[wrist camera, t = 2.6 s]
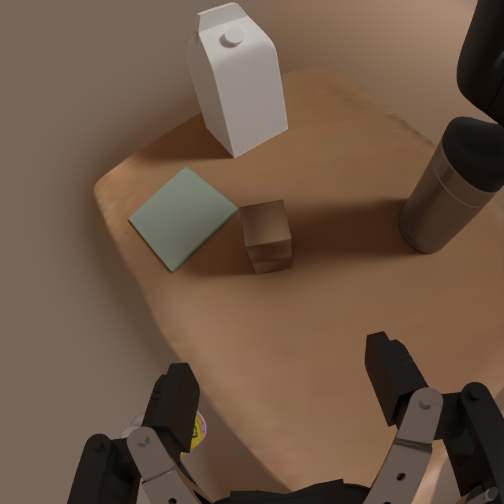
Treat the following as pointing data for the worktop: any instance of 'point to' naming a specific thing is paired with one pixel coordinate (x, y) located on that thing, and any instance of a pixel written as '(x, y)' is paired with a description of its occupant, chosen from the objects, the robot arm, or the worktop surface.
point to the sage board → (181, 217)
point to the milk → (236, 79)
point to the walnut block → (267, 236)
